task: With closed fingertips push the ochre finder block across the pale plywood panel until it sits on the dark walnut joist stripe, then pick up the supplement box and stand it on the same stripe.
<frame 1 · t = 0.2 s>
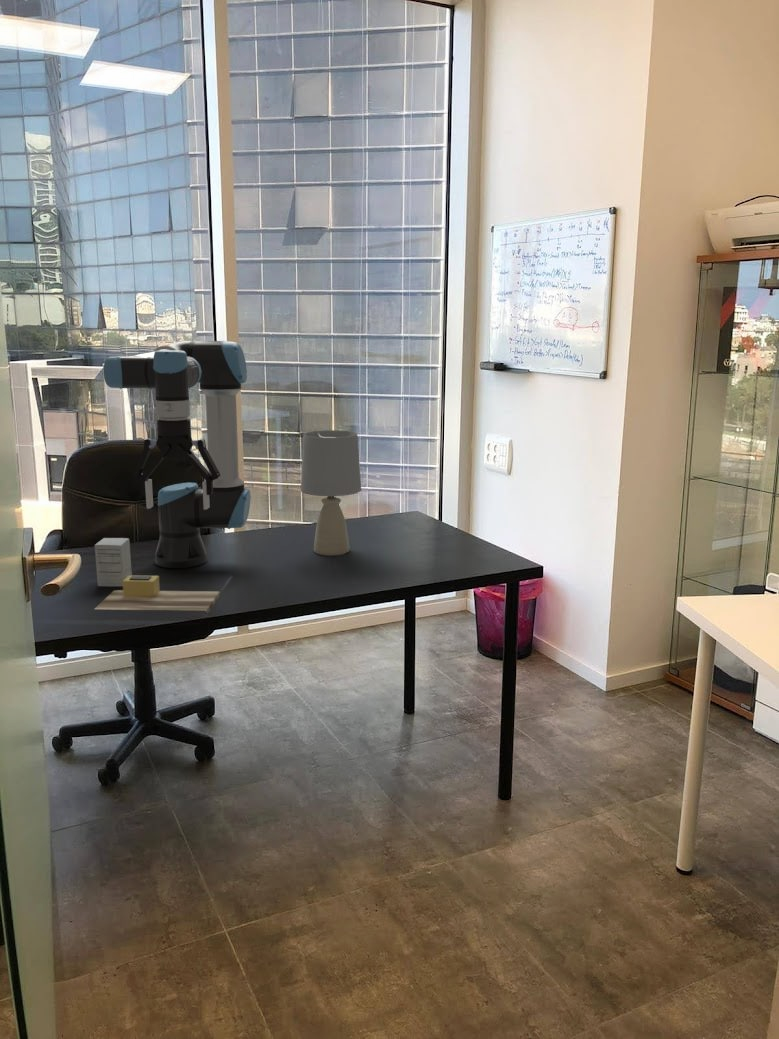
hand: (178, 508, 204), 28 cm above the table, fingers open, 13 cm apart
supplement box: (115, 586, 235), on the table
plywood panel: (159, 603, 221), on the table
lamp: (331, 551, 270), on the table
finder block: (141, 593, 226), point 1 cm above the table, touching plywood panel
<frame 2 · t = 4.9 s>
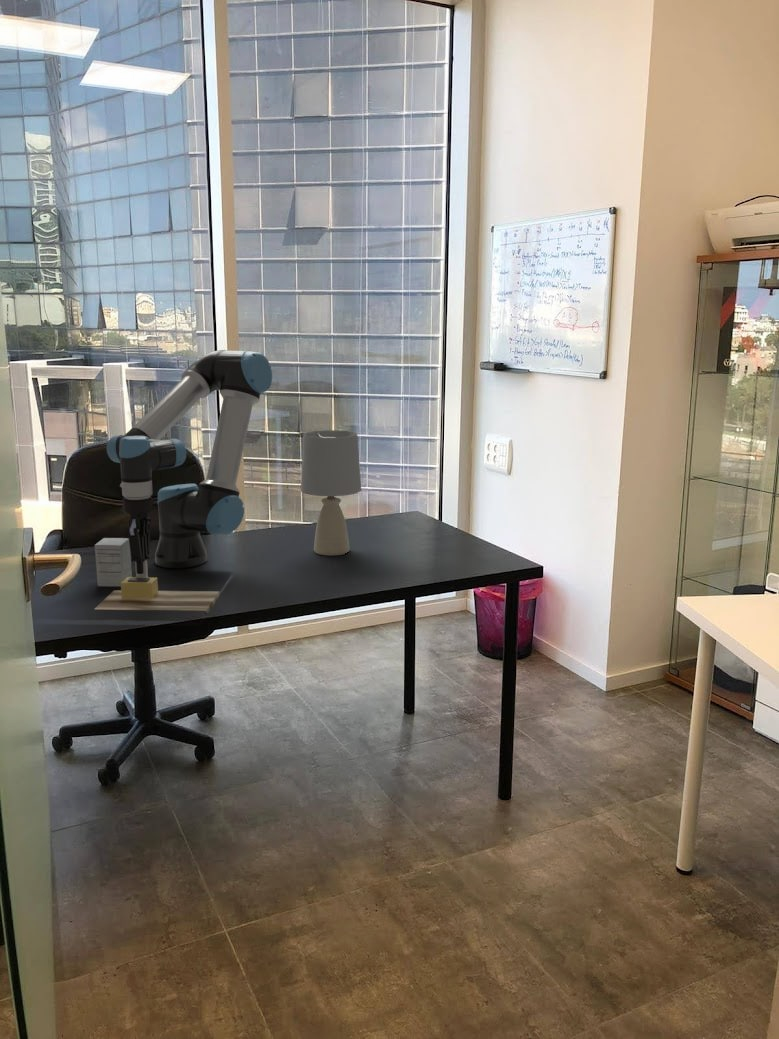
hand: (142, 584, 227), 3 cm above the table, fingers closed
finder block: (140, 594, 225), point 1 cm above the table, touching gripper, plywood panel
everything else where it was.
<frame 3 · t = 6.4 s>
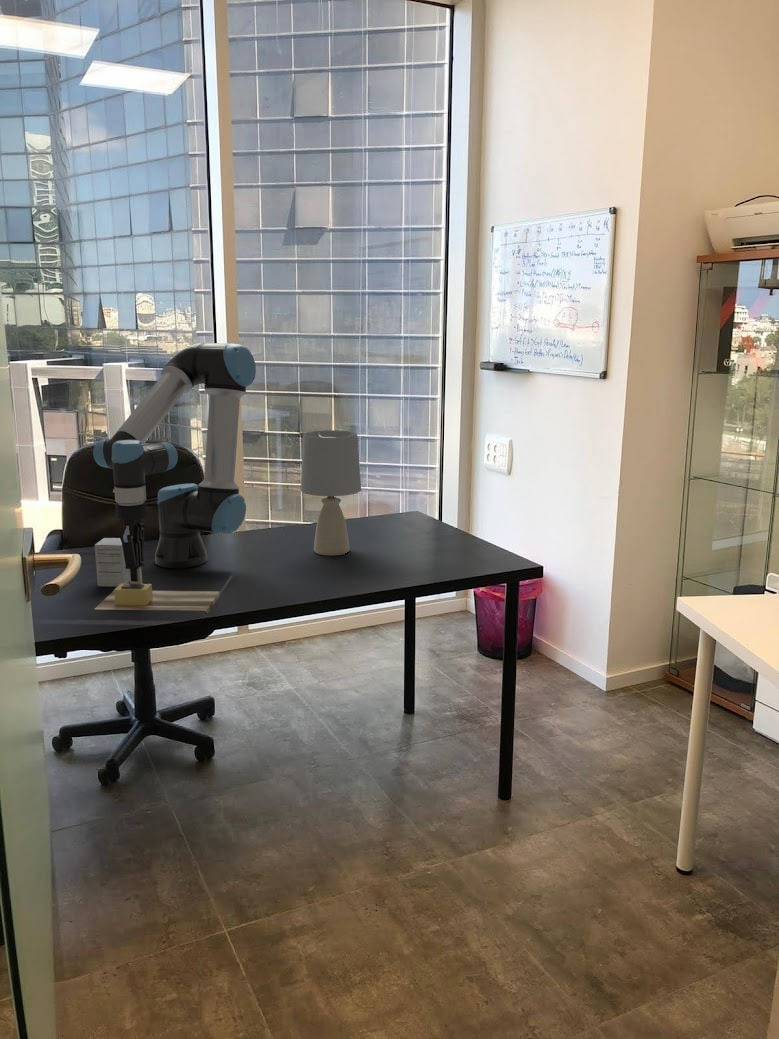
hand: (136, 591, 222), 3 cm above the table, fingers closed
finder block: (134, 601, 219), point 1 cm above the table, touching gripper, plywood panel
everything else where it was.
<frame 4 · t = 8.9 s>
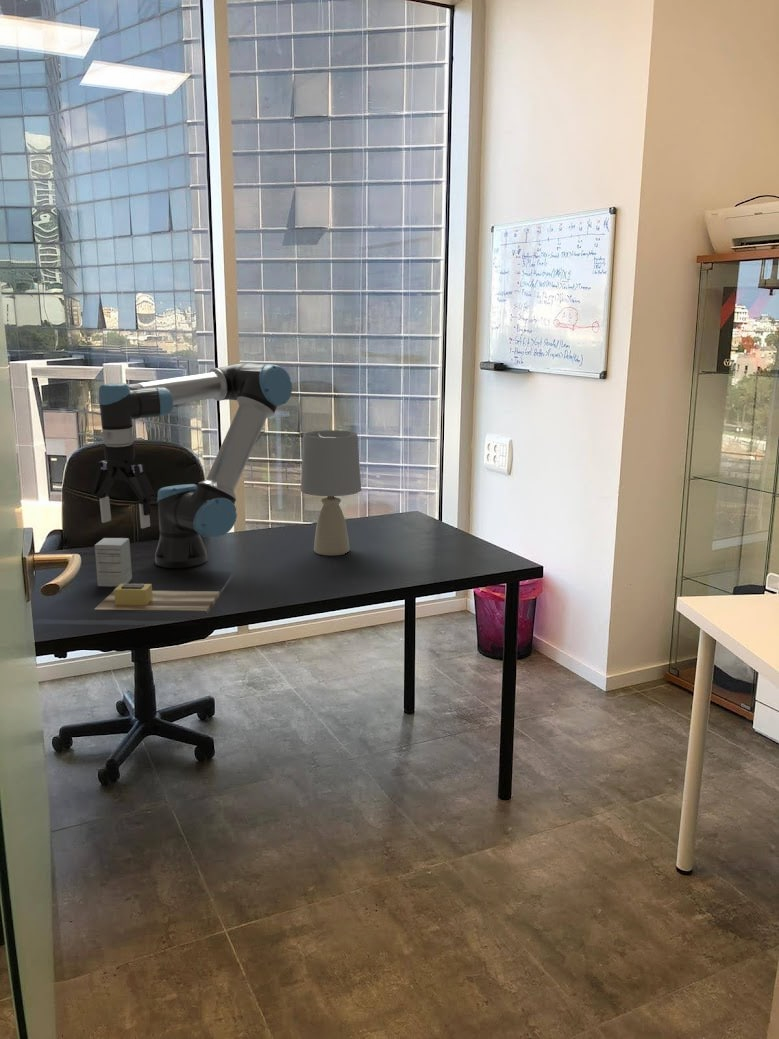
hand: (125, 524, 227), 18 cm above the table, fingers open, 13 cm apart
finder block: (134, 601, 219), point 1 cm above the table, touching plywood panel
everything else where it was.
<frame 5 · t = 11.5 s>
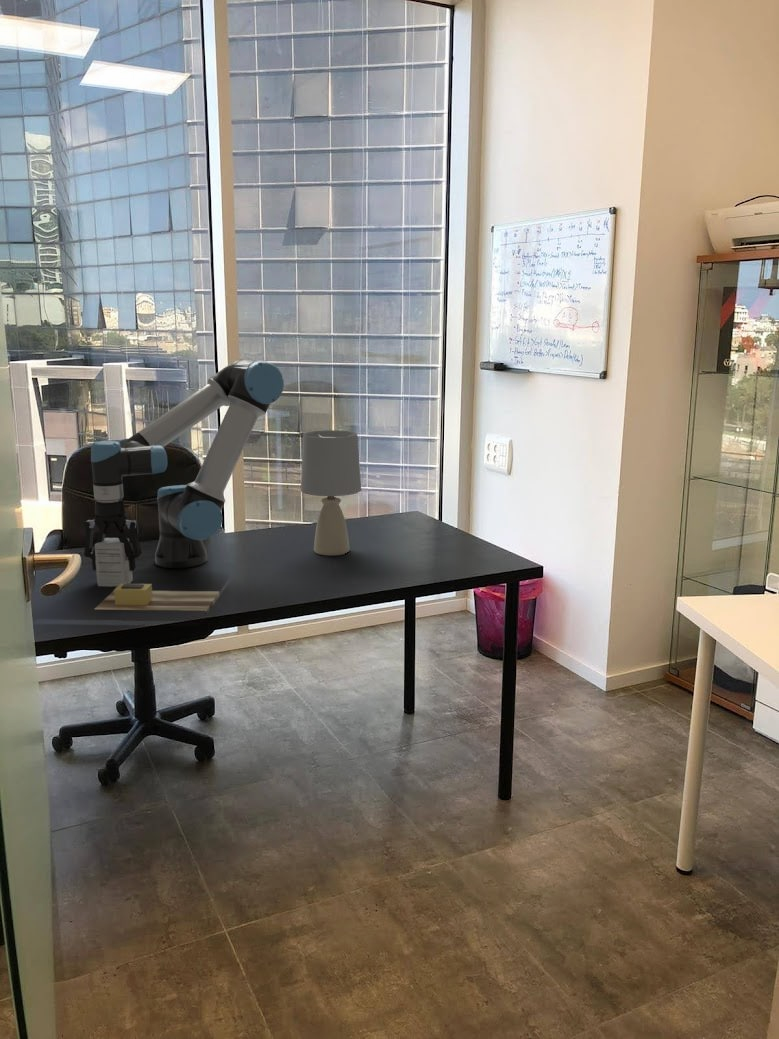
hand: (115, 581, 235), 1 cm above the table, fingers closed on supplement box, 7 cm apart
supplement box: (115, 586, 235), on the table, touching gripper
everything else where it was.
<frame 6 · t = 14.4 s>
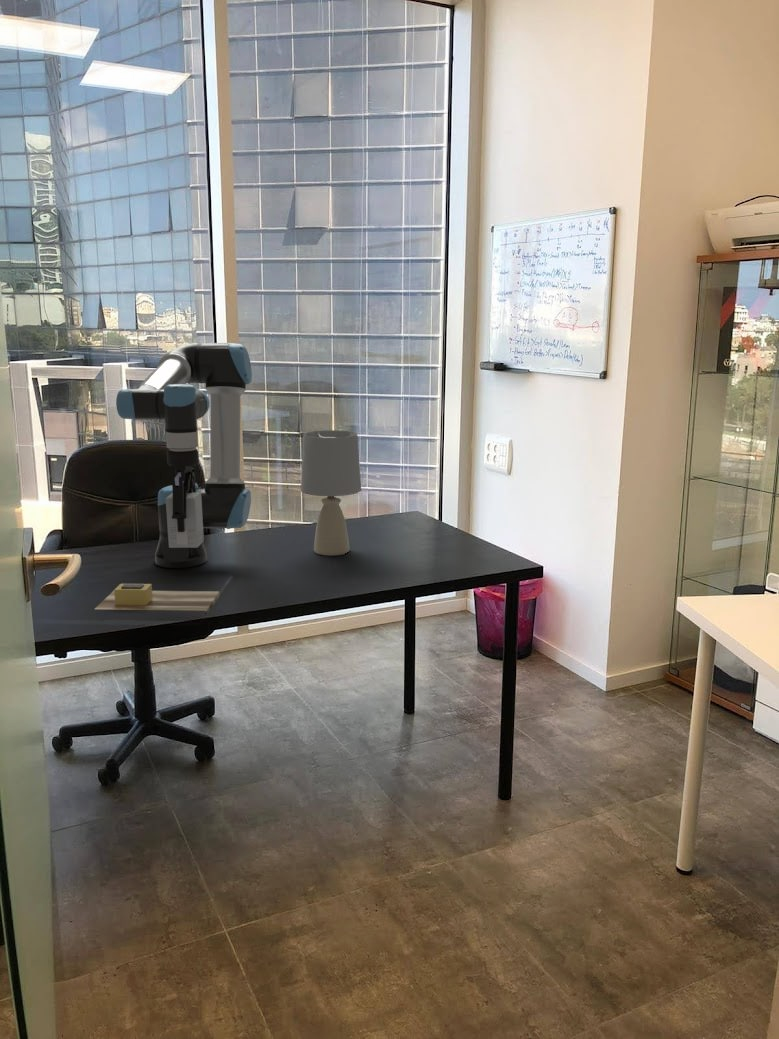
hand: (186, 539, 215), 18 cm above the table, fingers closed on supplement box, 7 cm apart
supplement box: (186, 545, 215), point 16 cm above the table, touching gripper
everything else where it was.
when the fingers open (4 cm above the table, at t = 17.5 s): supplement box drops 1 cm, resting on plywood panel.
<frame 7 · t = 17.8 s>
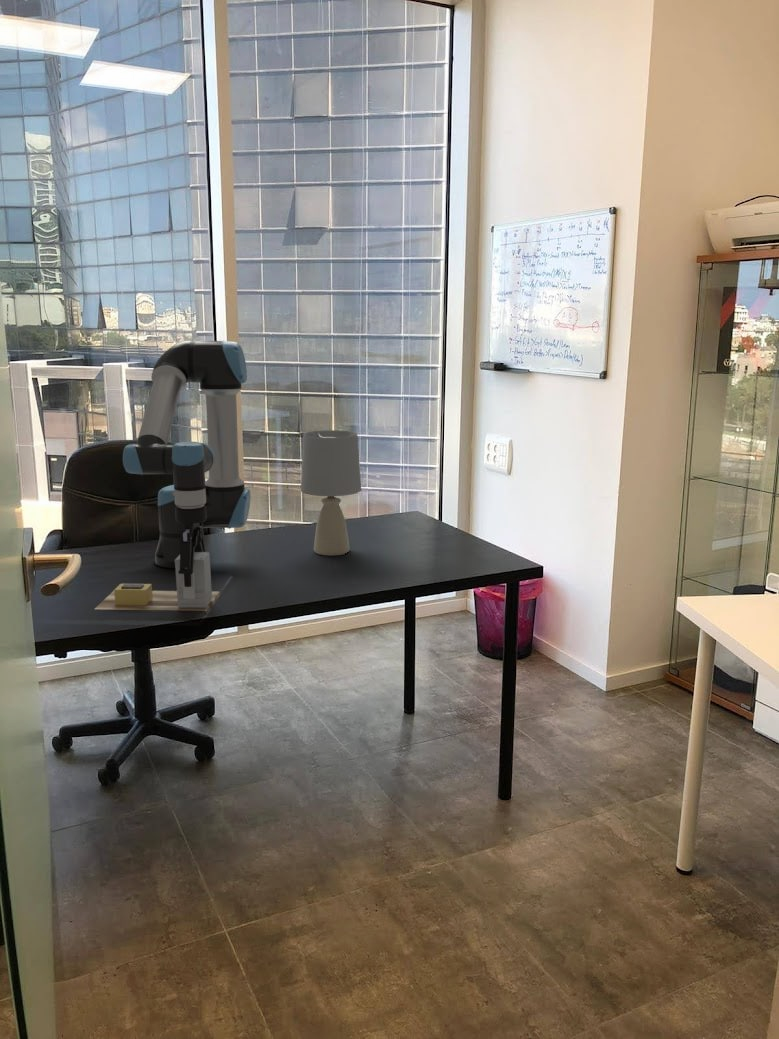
hand: (194, 591, 217), 4 cm above the table, fingers open, 10 cm apart
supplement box: (195, 604, 218), point 1 cm above the table, touching plywood panel
everything else where it was.
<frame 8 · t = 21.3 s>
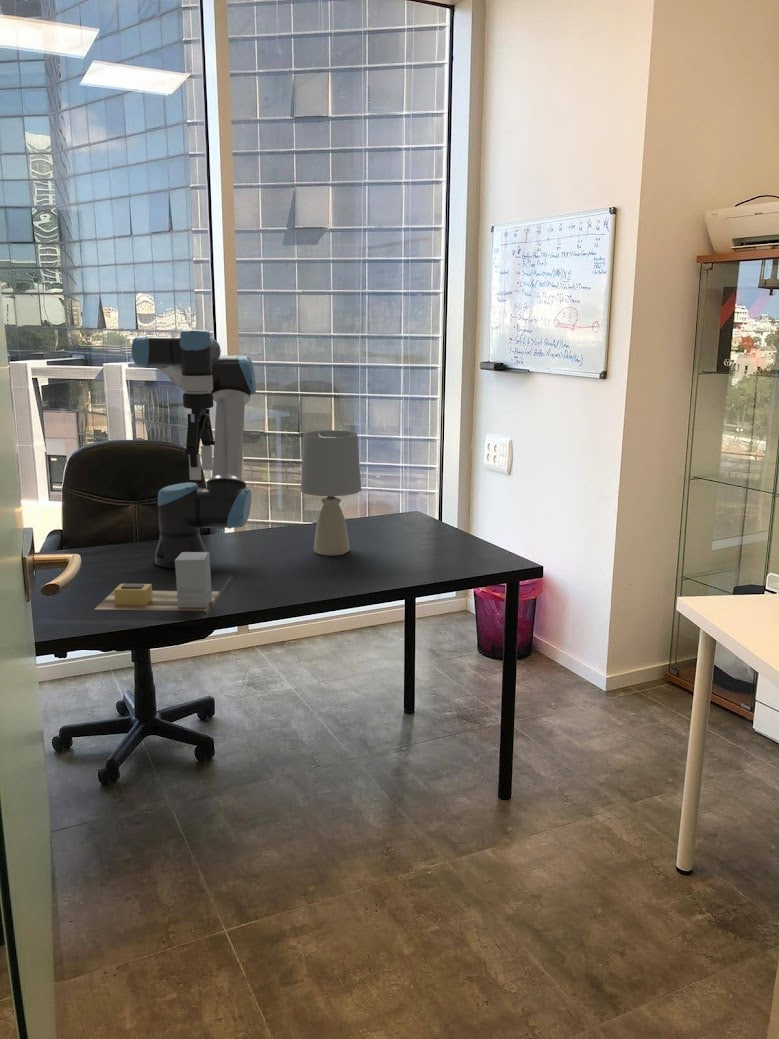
hand: (201, 474, 224), 32 cm above the table, fingers open, 13 cm apart
nothing on the table moved.
at the end: finder block inside the target area (1.4 cm from its centre), point 1.0 cm above the table; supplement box inside the target area (0.2 cm from its centre), point 0.8 cm above the table; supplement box tilted 0° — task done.
